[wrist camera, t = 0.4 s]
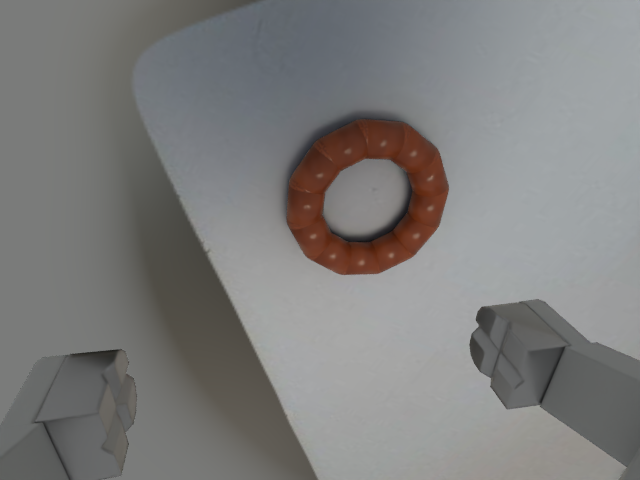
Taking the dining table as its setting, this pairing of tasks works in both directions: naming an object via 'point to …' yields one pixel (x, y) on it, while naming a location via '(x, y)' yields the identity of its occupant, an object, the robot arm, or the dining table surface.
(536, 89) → the dining table surface
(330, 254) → the ring
